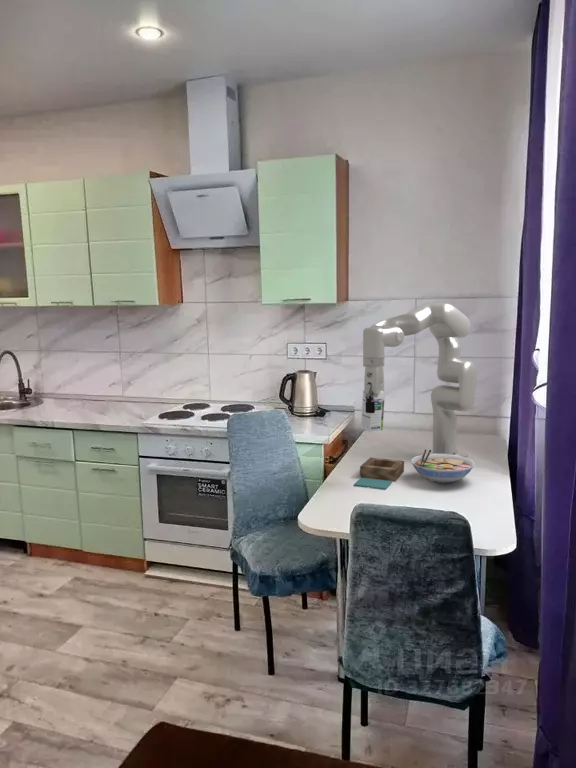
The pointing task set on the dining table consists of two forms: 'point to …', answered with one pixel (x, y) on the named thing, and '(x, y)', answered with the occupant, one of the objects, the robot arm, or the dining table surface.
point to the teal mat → (373, 483)
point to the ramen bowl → (442, 466)
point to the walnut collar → (382, 469)
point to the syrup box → (373, 419)
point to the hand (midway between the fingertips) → (373, 410)
